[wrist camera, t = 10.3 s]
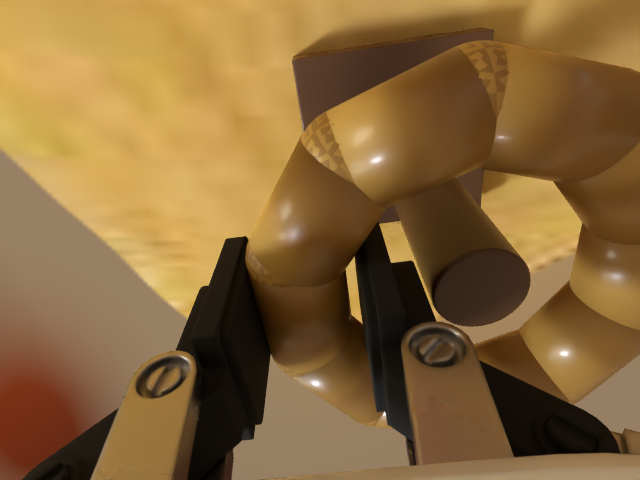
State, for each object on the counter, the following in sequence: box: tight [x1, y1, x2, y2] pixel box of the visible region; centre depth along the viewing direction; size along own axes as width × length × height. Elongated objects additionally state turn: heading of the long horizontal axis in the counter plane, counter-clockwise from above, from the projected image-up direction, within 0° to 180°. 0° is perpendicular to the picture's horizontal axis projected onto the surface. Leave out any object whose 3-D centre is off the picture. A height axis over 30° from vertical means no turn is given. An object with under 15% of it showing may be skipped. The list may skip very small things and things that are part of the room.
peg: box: [292, 27, 530, 327], centre depth 16 cm, size 9×9×14 cm
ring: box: [245, 40, 640, 429], centre depth 10 cm, size 11×11×2 cm
